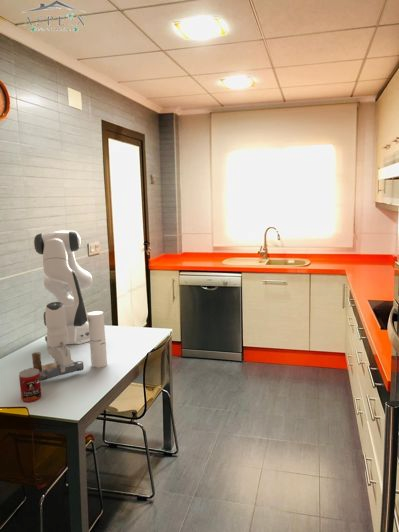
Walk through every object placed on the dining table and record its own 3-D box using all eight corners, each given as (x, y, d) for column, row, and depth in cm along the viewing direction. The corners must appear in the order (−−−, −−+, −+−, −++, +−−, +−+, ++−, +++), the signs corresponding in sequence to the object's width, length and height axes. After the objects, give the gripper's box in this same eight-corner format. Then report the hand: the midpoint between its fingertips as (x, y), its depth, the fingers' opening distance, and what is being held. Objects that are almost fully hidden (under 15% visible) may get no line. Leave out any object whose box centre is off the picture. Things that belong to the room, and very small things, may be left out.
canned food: (21, 404, 175) (19, 377, 173) (21, 396, 182) (18, 370, 180) (42, 400, 178) (40, 373, 176) (41, 392, 185) (38, 366, 183)
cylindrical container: (90, 363, 216) (86, 312, 212) (105, 360, 219) (101, 310, 215) (93, 368, 209) (89, 315, 206) (108, 365, 212) (104, 313, 208)
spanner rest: (70, 360, 220) (68, 342, 219) (77, 366, 212) (76, 347, 211) (23, 372, 208) (21, 353, 206) (29, 378, 200) (27, 359, 198)
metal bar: (81, 366, 206) (81, 360, 206) (85, 369, 203) (84, 363, 202) (36, 378, 195) (35, 371, 194) (39, 381, 191) (38, 375, 191)
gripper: (73, 344, 190) (76, 375, 192) (57, 332, 206) (60, 361, 208) (58, 347, 186) (61, 379, 188) (43, 335, 202) (46, 365, 205)
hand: (60, 370), depth 198 cm, fingers closed on metal bar, 3 cm apart
